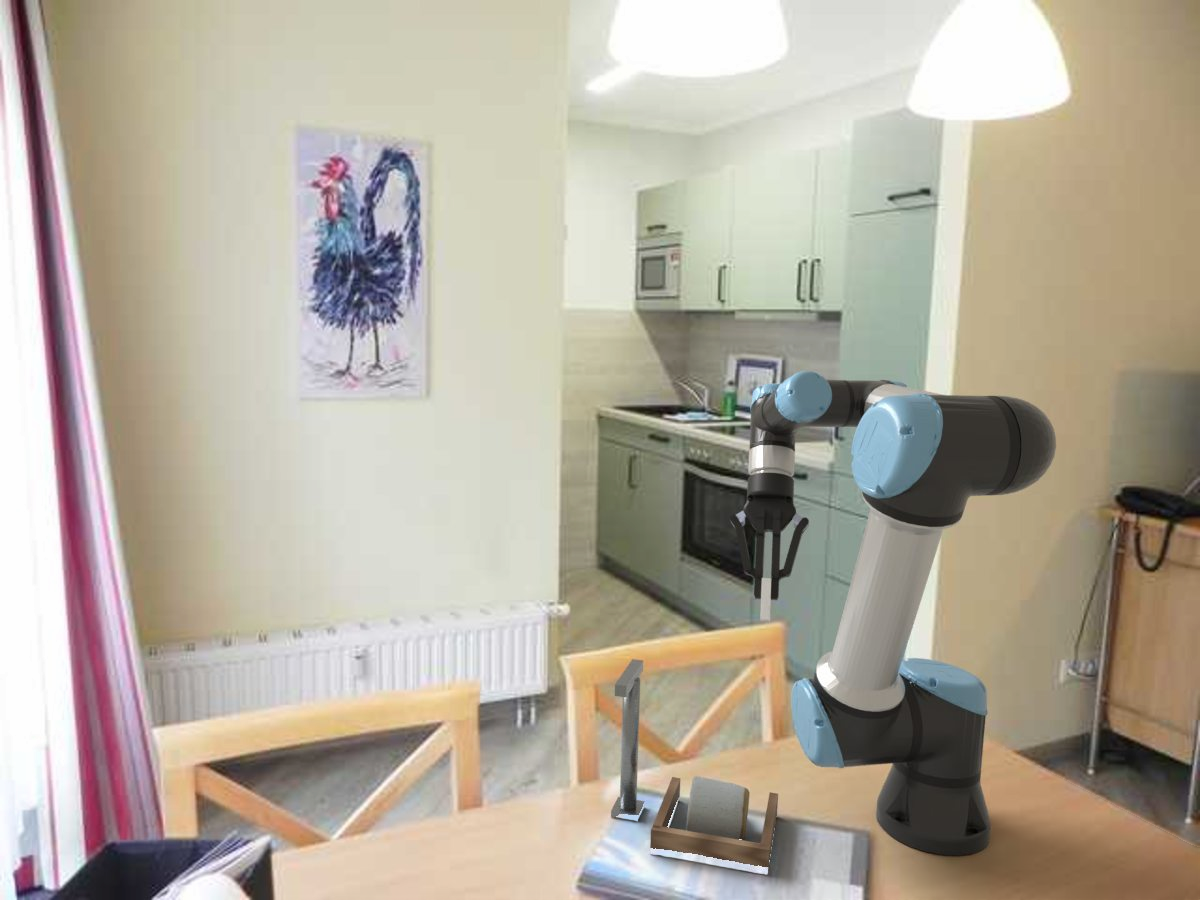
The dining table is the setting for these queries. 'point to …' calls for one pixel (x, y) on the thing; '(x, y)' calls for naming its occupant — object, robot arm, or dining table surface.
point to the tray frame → (711, 843)
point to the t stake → (629, 739)
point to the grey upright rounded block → (717, 808)
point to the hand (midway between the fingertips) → (765, 620)
